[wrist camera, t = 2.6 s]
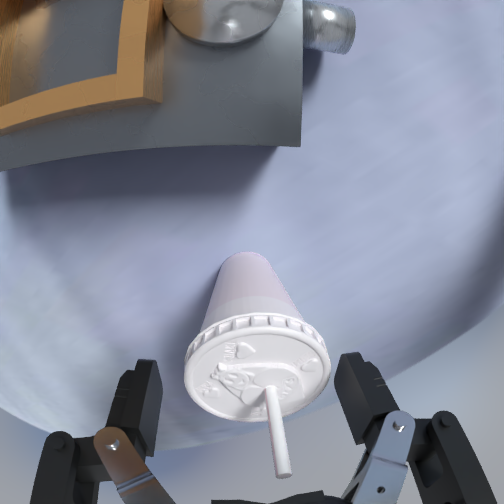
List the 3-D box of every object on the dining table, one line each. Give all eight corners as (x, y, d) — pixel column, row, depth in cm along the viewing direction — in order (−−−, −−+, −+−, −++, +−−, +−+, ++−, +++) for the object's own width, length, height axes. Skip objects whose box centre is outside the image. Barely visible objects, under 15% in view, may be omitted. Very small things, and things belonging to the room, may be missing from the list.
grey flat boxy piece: (327, -39, 11) (372, -97, 4) (328, 144, 17) (394, 160, 10) (38, -6, 10) (-23, -35, 3) (25, 162, 16) (-52, 189, 8)
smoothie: (263, 325, 22) (293, 502, 9) (184, 293, 21) (150, 483, 8) (309, 257, 20) (401, 434, 7) (225, 215, 18) (220, 406, 6)
